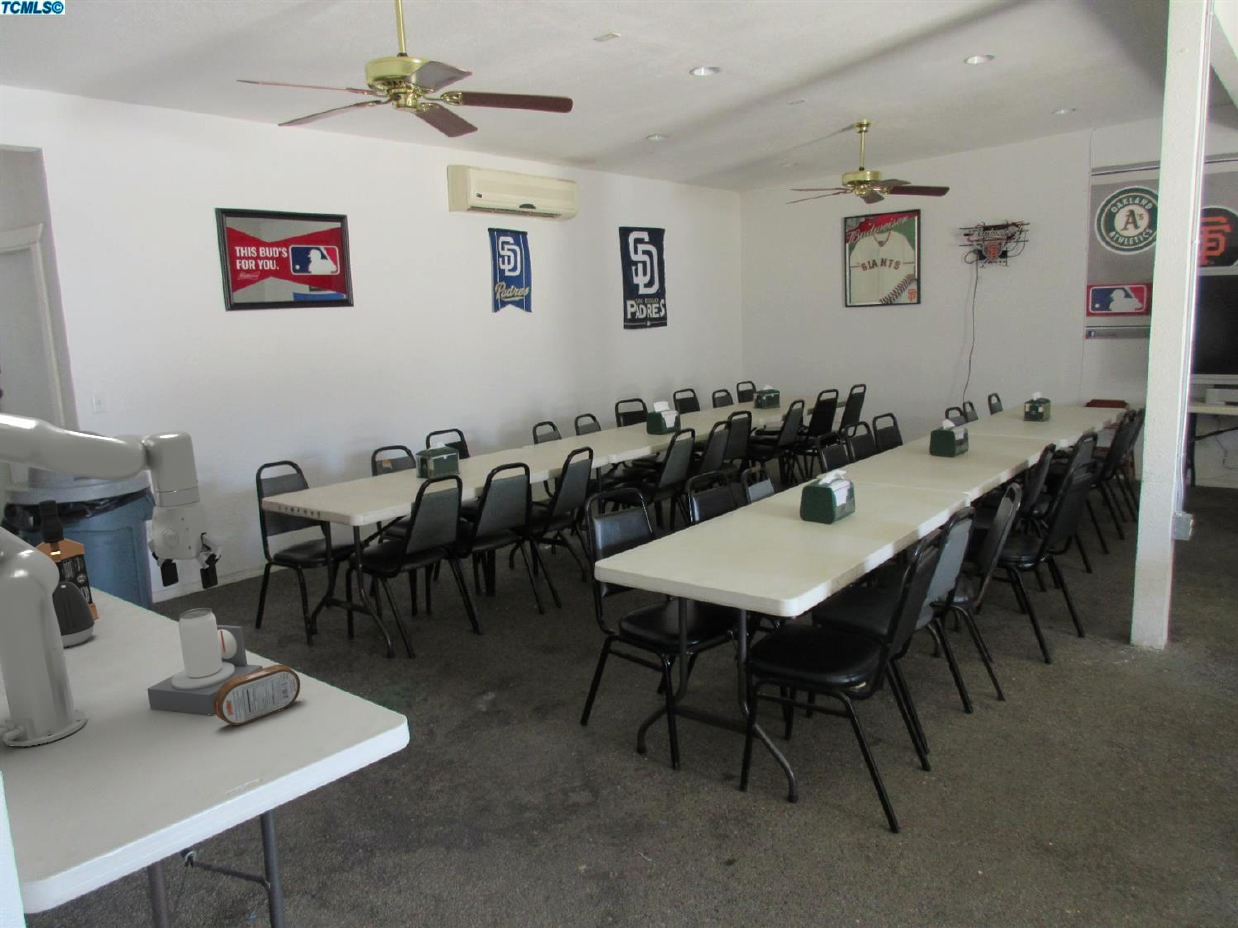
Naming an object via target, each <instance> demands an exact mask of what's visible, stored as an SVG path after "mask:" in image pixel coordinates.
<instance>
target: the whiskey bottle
mask: <svg viewBox="0 0 1238 928" xmlns="http://www.w3.org/2000/svg"><path fill="white" fill-rule="evenodd" d="M38 510H39V514H40V515H39V516H40V518H41V523H40V533H41V537H42V538H43V541H42V542H41V543H39V544H38V545H36V546H35V548H36V549H38V550H39V551H41V552H42V553H44V554H45V555H47V556H48V557H49V558H51V559H52V560H53V561H54V563H55V564H56V566H57V568H58V571H59V582H60V581H69V582H72V583H73V584H75V585H76V586H77V587H78V588H79V590H80V591H81V592H82V594H83V595H84V597H85V598H86V600H87V602H88V604H89V606H90V608H91V611H92V614H93V617H94V620H97V619H99V615H98V610H97V607H96V602H93V597H92V592H91V586H90V581H89V576H88V571H87V570H88V569H87V565H86V562H85V556H84V554H85V552H86V551H85V547H84V546H85V545H84V544H83V543H82V542H79V541H74V540H72V539H68V538H66V537H65V536H64V526H63V523H62V521H61V519H60V518H59V511H58V504H57V501H56V500H55V499H49V500H43V501H40V502H38Z"/></svg>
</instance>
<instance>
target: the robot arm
mask: <svg viewBox="0 0 1238 928" xmlns="http://www.w3.org/2000/svg"><path fill="white" fill-rule="evenodd" d="M194 453H195V452H194V446H193V440H192V437H191V435H190V434H189V433H188V432H186V431H183V430H181V431H179V430H174V431H172V430H171V431H165V432H158V433H153V434H118V435H115V436H113V437H106V436H100V435H95V434H89V433H88V434H87V433H81V432H77V431H73V430H69V429H64V428H61V427H60V426H57V425H56V426H55V425H54V424H52V423H51V422H48V421H46V420H45V419H40V418H38V417H33V416H32V417H31V416H25V415H18V414H13V413H12V414H11V413H7V412H0V463H5V464H12V465H17V466H24V467H30V468H33V469H37V470H43V471H49V472H52V473H53V472H54V473H57V474H63V475H69V476H74V477H80V478H86V479H87V478H88V479H94V480H99V481H100V480H102V481H109V482H124V481H125V482H126V481H129V480H133V479H135V477H137V476H138V475H139V474H140V473H142V472H145V471H150V477H151V484H152V485H151V486H152V490H153V495H152V496H153V498H154V502H155V506H153V508H152V518H151V519H152V521H151V522H152V524H151V525H152V526H151V527H152V528H151V529H152V539H151V540H149V541H148V542H147V547H148V549H149V551H150V552H151V555H152V558H153V559H154V560H155V561H156V565H157V566H158V567H160V568H159V570H160V576H161V581H162V586H163V587H164V588H166V587H170V586H172V585H176V584H178V583H179V581H180V580H179V573H178V566H177V562H176V561H175V562H174V560H177V561H178V560H180V561H181V560H182V561H184V560H185V561H190V560H194V559H195V560H196V561H197V563H198V564H199V565H200V566H201V567H202V568H199V572H200V573H199V575H200V579H201V580H200V581H201V586H202V587H201V588H203V590H209V589H210V588H213V587H215V586H218V585H219V581H218V574H217V565H218V564H219V560H220V559H221V557H222V551H223V547H224V544H223V543H222V542H220V541H219V540H217V539H216V538H214V537H212V534H211V528H210V523H209V520H208V517H207V513H206V510H205V507H204V504H203V503H202V502H201V495H200V488H199V481H198V474H197V468H196V460H195V454H194ZM35 547H36V546H35ZM35 547H34V546H33V545H32V544H30V543H28V542H26V541H24V540H23V539H22V538H20V537H19V536H17V535H15V534H13V533H12V532H10V531H9V530H7V529H5V528H4V527H2V526H0V671H1V675H2V680H3V681H2V682H3V684H4V690H5V694H6V695H5V696H6V701H7V705H8V711H9V715H10V716H9V715H8V716H7V717H4V724H3V725H1V726H0V741H1V740H3V742H4V744H5V745H6V746H8V745H13V746H28V747H32V746H31V745H35V746H39V745H38V744H40V745H43V743H44V744H48V743H50V742H55V741H57V740H60V739H63V738H64V737H67V736H70V735H71V734H74V733H75V732H77V731H79V730H80V729H81V728H83V726H84V725H85V724H86V723H87V720H88V719H87V714H86V712H84V711H82V710H78V709H76V708H75V703H74V698H73V693H72V688H71V682H70V675H69V672H68V665H67V660H66V655H65V650H64V648H65V647H63V643H62V639H61V633H60V628H59V624H58V620H57V616H56V613H55V609H54V605H53V600H52V594H53V592H54V590H55V589H56V587H57V585H58V582H59V571H58V568H57V566H56V564H55V563H54V561H53V560H52V559H51V558H49V557H48V556H47V555H45V554H44V553H42V552H41V551H39V550H38V549H36V548H35ZM47 742H48V743H47Z"/></svg>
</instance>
